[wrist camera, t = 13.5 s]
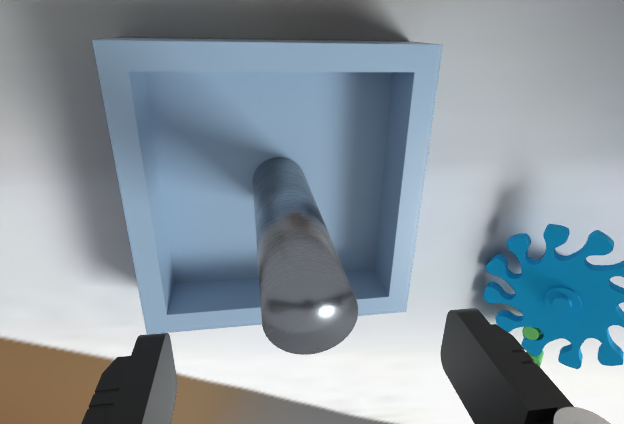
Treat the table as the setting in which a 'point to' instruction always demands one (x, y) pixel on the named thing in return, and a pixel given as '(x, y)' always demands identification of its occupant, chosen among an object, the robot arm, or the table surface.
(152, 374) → the robot arm
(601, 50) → the table surface
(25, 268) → the table surface
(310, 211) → the peg
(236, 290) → the tray
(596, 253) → the gear
